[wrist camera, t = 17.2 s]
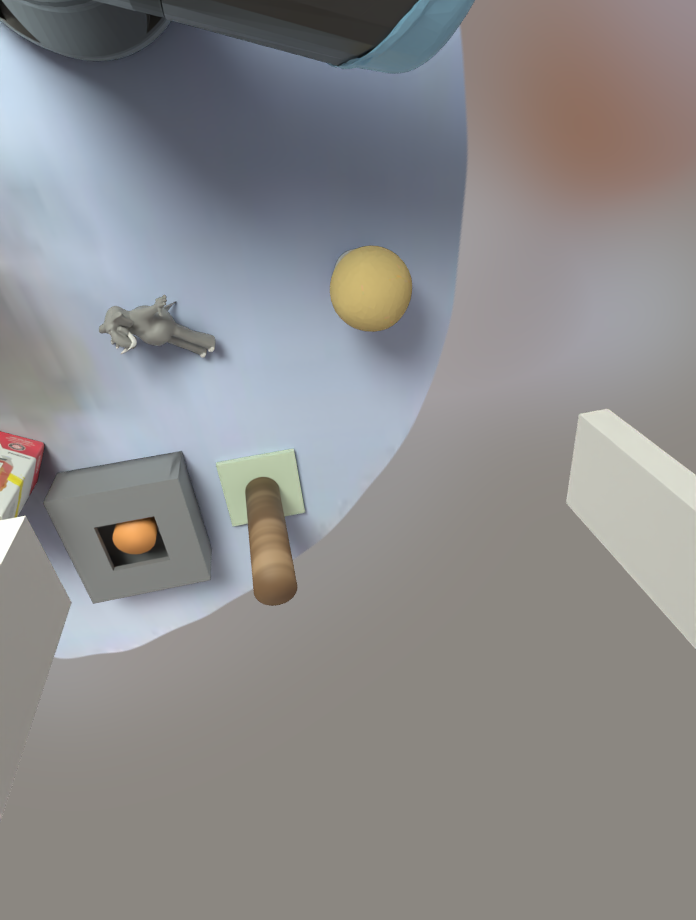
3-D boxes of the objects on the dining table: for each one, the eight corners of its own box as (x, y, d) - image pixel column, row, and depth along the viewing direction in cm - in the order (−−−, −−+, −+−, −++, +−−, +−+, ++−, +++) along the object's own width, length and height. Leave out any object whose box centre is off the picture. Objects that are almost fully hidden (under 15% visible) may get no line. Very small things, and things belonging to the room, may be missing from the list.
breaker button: (112, 508, 55) (106, 527, 53) (152, 501, 56) (149, 519, 53) (124, 538, 58) (120, 557, 55) (163, 531, 58) (160, 549, 55)
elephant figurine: (179, 391, 52) (78, 364, 46) (184, 333, 53) (87, 298, 47) (239, 361, 45) (130, 324, 39) (242, 295, 46) (138, 249, 40)
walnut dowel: (241, 480, 57) (249, 578, 44) (276, 473, 58) (293, 568, 45) (249, 508, 59) (258, 609, 46) (282, 501, 59) (300, 599, 47)
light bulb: (374, 313, 51) (403, 351, 43) (309, 294, 49) (325, 329, 41) (399, 244, 48) (435, 270, 40) (330, 220, 46) (353, 242, 38)
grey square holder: (57, 473, 54) (42, 502, 49) (181, 451, 55) (177, 478, 51) (102, 571, 61) (93, 604, 56) (211, 549, 62) (210, 581, 58)
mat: (216, 462, 56) (216, 465, 56) (293, 448, 57) (294, 451, 57) (232, 523, 60) (232, 526, 60) (304, 509, 61) (305, 512, 61)
